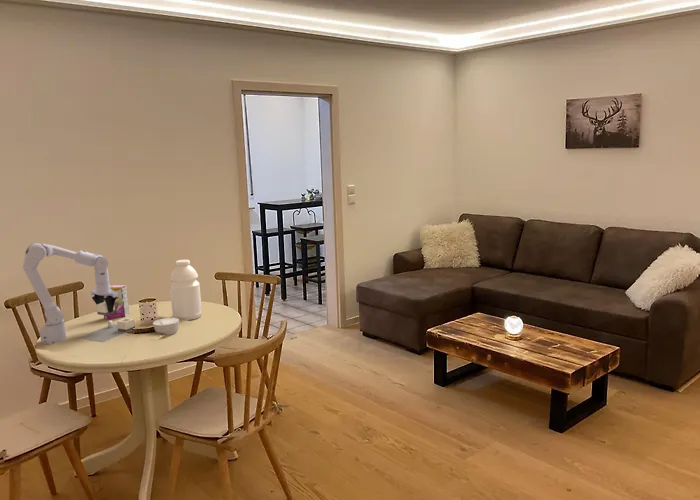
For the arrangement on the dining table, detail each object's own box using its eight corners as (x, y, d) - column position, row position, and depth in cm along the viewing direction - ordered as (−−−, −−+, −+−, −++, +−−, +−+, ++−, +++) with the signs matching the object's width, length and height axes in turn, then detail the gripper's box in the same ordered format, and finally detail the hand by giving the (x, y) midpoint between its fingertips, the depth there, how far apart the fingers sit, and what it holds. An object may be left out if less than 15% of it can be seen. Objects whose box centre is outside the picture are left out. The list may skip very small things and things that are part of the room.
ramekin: (148, 334, 254) (147, 323, 253) (167, 327, 264) (166, 316, 263) (166, 337, 249) (165, 326, 248) (185, 330, 259) (184, 319, 258)
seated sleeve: (126, 332, 253) (125, 322, 253) (117, 330, 256) (116, 321, 255) (135, 328, 258) (134, 319, 257) (126, 327, 260) (125, 317, 259)
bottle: (178, 323, 269) (173, 265, 264) (168, 316, 280) (163, 260, 275) (206, 316, 277) (202, 260, 272) (196, 310, 288) (191, 256, 283)
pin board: (103, 345, 242) (102, 335, 241) (76, 341, 248) (75, 331, 248) (138, 330, 259) (137, 321, 259) (112, 327, 266) (111, 318, 265)
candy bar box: (103, 320, 278) (99, 287, 275) (109, 317, 283) (105, 285, 280) (125, 320, 277) (121, 287, 274) (130, 317, 282) (126, 284, 279)
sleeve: (105, 315, 254) (104, 305, 253) (97, 314, 256) (96, 304, 255) (115, 312, 258) (114, 302, 257) (106, 311, 261) (105, 301, 260)
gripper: (121, 281, 255) (124, 310, 257) (98, 278, 261) (101, 307, 264) (108, 284, 249) (112, 314, 251) (85, 282, 255) (89, 311, 257)
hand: (106, 311), depth 257 cm, fingers closed on sleeve, 5 cm apart
